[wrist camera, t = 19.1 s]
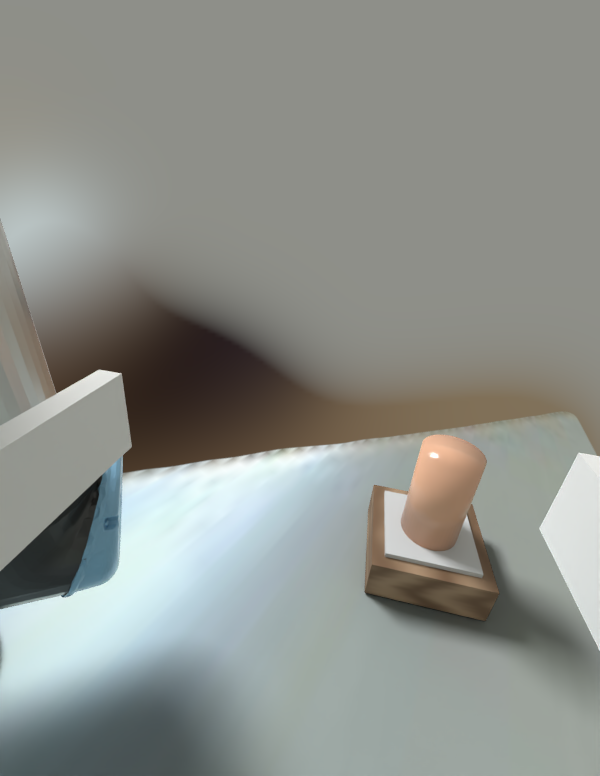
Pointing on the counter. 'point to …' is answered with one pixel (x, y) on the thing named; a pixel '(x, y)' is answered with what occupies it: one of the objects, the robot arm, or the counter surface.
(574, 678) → the counter surface
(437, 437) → the peach glossy cylinder
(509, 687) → the counter surface
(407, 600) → the walnut base
